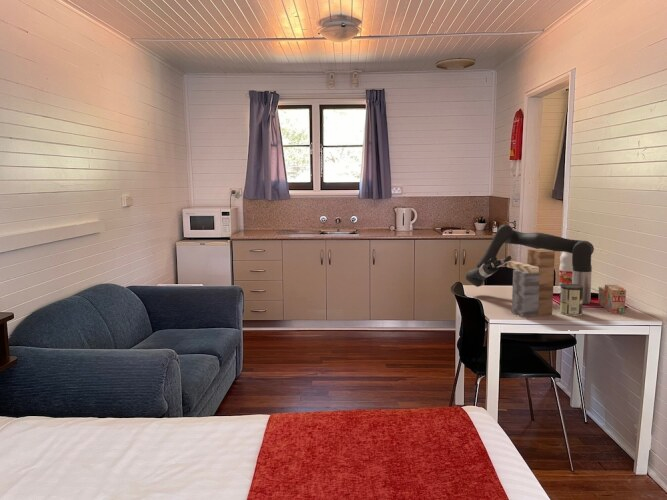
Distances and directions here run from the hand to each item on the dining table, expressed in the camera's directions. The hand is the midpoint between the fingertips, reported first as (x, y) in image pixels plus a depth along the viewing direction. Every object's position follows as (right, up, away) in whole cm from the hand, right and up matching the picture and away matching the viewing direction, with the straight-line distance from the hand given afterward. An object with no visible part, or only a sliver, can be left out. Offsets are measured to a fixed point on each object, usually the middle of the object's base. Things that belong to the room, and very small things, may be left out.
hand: (503, 257), depth 272 cm
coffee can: (+29, -28, -15) cm, 43 cm away
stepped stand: (+9, -28, -15) cm, 33 cm away
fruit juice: (+51, -20, +39) cm, 67 cm away
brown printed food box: (+54, -26, -6) cm, 60 cm away
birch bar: (+4, -6, -16) cm, 17 cm away
